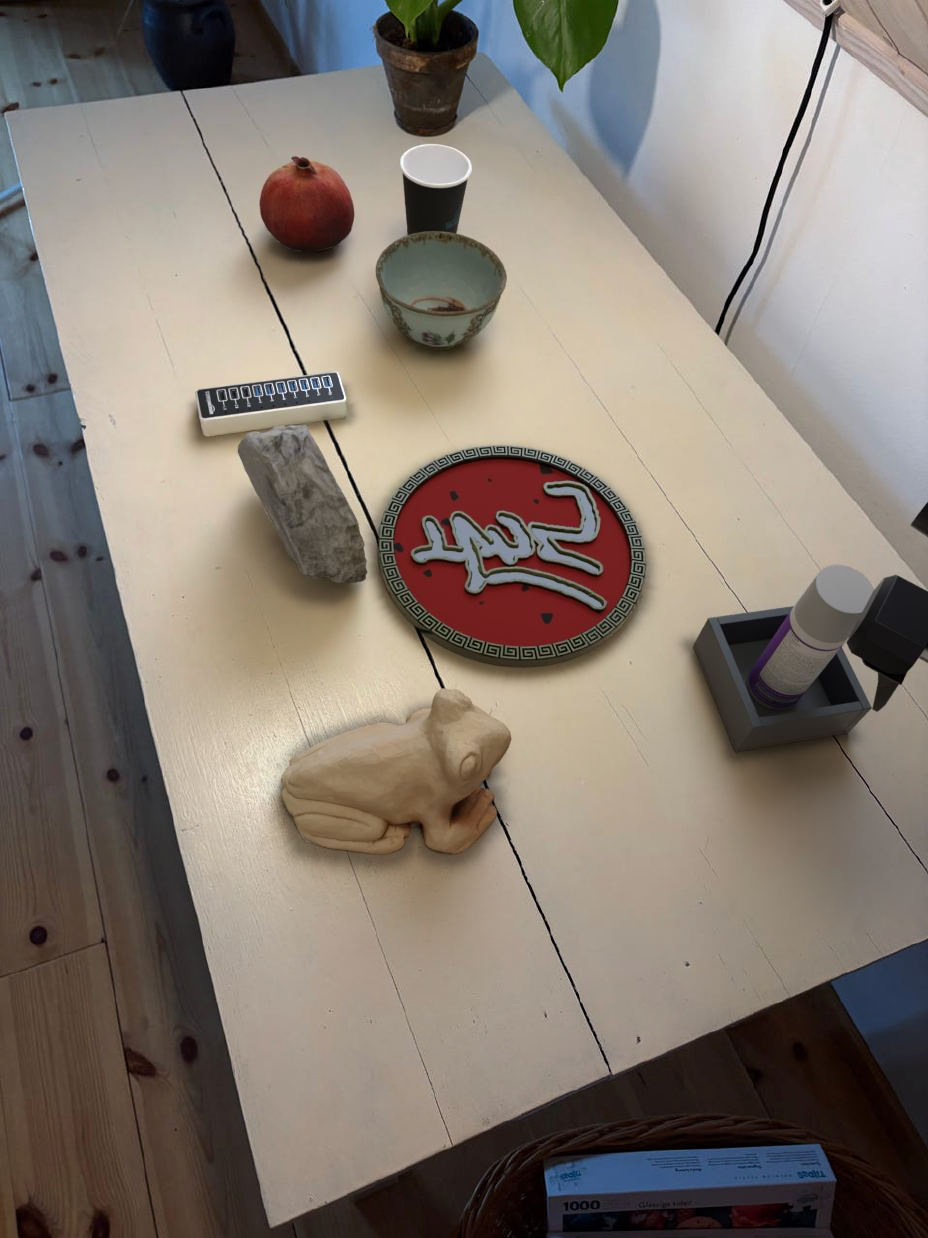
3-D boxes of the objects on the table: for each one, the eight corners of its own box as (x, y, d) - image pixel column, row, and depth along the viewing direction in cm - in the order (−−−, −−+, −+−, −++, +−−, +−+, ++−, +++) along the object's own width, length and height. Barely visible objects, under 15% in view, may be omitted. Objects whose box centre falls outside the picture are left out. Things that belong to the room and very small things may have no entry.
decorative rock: (373, 595, 85) (373, 484, 72) (304, 622, 82) (292, 512, 70) (302, 470, 92) (291, 349, 79) (237, 491, 90) (215, 370, 77)
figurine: (510, 848, 73) (528, 799, 64) (283, 870, 70) (272, 821, 62) (488, 707, 79) (502, 645, 71) (280, 722, 77) (269, 659, 69)
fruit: (251, 258, 109) (241, 176, 100) (279, 209, 114) (272, 128, 106) (340, 277, 108) (338, 197, 100) (364, 227, 114) (364, 147, 105)
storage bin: (799, 630, 86) (820, 601, 83) (848, 733, 81) (872, 708, 77) (692, 645, 85) (708, 617, 81) (735, 752, 79) (753, 727, 75)
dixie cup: (393, 231, 114) (395, 143, 104) (458, 229, 115) (465, 142, 106) (401, 273, 109) (404, 185, 100) (468, 271, 111) (477, 184, 102)
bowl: (495, 295, 109) (503, 233, 102) (501, 376, 101) (510, 316, 95) (376, 289, 108) (377, 226, 101) (373, 371, 100) (374, 309, 94)
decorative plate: (671, 654, 82) (384, 664, 79) (667, 661, 83) (384, 671, 80) (620, 443, 96) (373, 445, 93) (617, 451, 97) (373, 453, 94)
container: (766, 654, 84) (835, 552, 71) (810, 688, 82) (888, 590, 70) (736, 685, 82) (802, 586, 69) (780, 721, 80) (855, 626, 68)
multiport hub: (347, 417, 96) (347, 400, 94) (203, 437, 93) (199, 420, 91) (339, 387, 99) (338, 370, 97) (197, 405, 95) (194, 388, 93)
